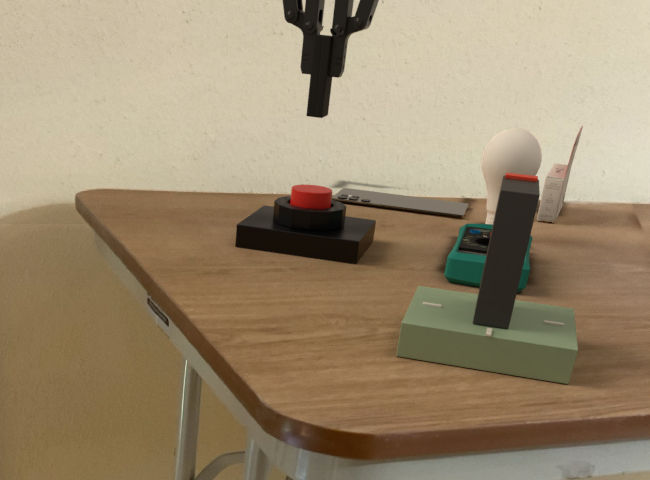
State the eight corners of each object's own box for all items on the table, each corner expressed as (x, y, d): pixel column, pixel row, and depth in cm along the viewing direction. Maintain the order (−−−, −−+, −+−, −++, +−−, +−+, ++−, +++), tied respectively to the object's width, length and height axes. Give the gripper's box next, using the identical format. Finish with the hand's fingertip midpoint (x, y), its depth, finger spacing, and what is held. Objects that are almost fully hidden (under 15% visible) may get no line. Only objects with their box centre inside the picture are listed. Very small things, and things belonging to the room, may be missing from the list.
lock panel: (565, 339, 69) (574, 305, 68) (568, 385, 61) (579, 348, 59) (413, 315, 71) (418, 283, 70) (395, 356, 63) (401, 320, 62)
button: (334, 206, 88) (336, 187, 87) (325, 214, 85) (328, 194, 84) (295, 201, 89) (296, 182, 88) (285, 208, 86) (287, 189, 85)
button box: (373, 242, 92) (378, 201, 90) (356, 265, 83) (362, 221, 81) (262, 226, 94) (265, 187, 92) (235, 247, 86) (237, 204, 84)
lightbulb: (489, 245, 94) (513, 132, 88) (455, 231, 99) (476, 123, 93) (534, 243, 96) (560, 133, 90) (499, 229, 101) (522, 124, 95)
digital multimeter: (527, 257, 91) (534, 228, 89) (524, 296, 78) (532, 262, 77) (456, 248, 92) (461, 218, 91) (441, 284, 80) (447, 251, 78)
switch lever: (508, 329, 62) (540, 190, 57) (472, 323, 62) (501, 185, 58) (510, 305, 67) (540, 176, 62) (476, 300, 67) (503, 171, 62)
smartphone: (463, 215, 104) (331, 195, 107) (462, 220, 104) (330, 200, 107) (468, 203, 110) (343, 185, 113) (467, 208, 110) (343, 189, 114)
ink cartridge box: (535, 221, 106) (555, 132, 101) (543, 205, 115) (563, 123, 110) (556, 224, 105) (578, 135, 100) (563, 208, 114) (583, 125, 109)
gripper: (439, -199, 72) (391, 119, 84) (285, -206, 74) (260, 103, 87) (430, -218, 66) (379, 128, 78) (261, -225, 68) (239, 111, 81)
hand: (317, 115), depth 83 cm, fingers closed
